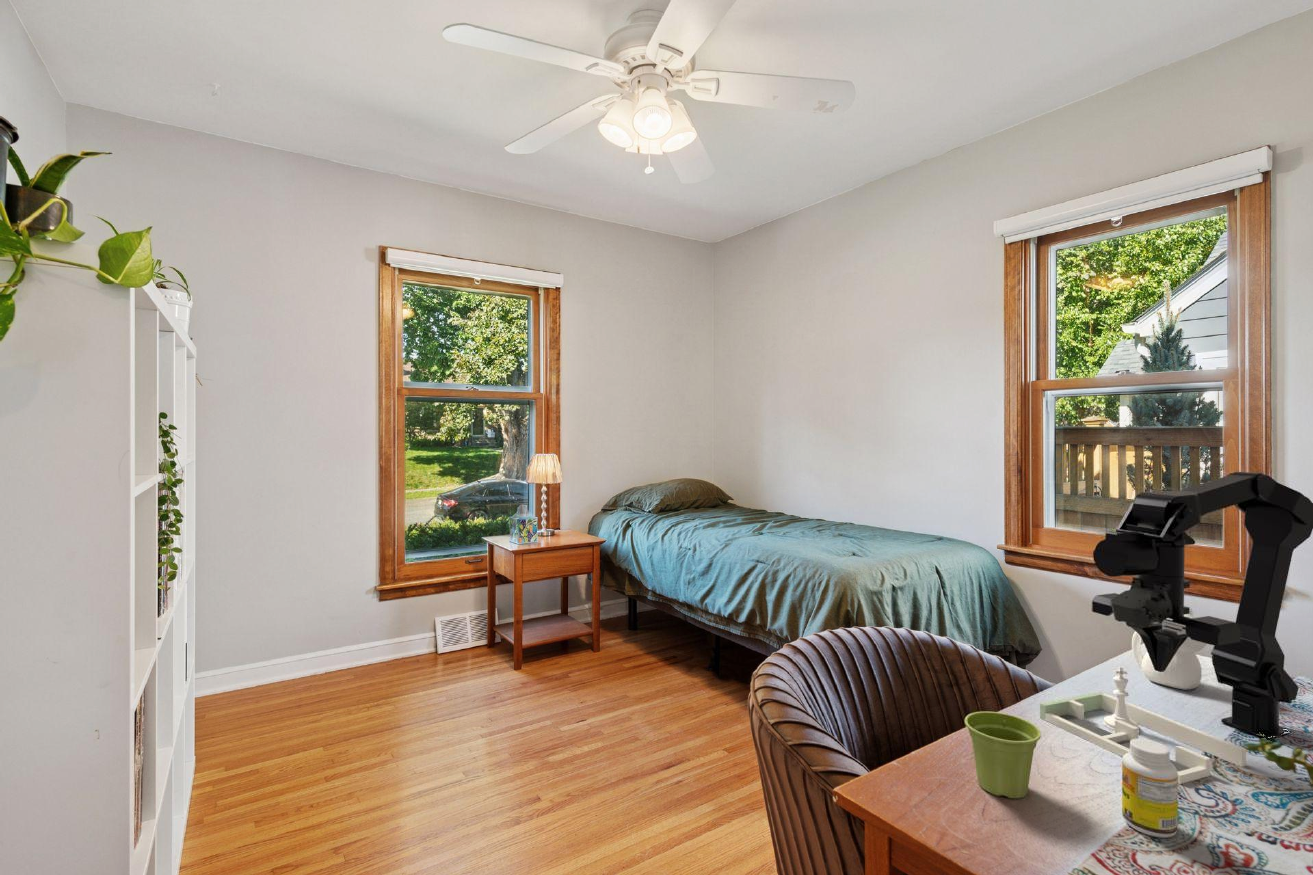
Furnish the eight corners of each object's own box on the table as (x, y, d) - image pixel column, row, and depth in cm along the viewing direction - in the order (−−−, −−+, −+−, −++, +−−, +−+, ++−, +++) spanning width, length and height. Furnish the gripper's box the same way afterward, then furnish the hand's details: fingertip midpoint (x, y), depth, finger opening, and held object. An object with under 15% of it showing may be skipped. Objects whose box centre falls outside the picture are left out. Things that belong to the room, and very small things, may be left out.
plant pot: (949, 777, 92) (949, 717, 92) (996, 763, 96) (996, 706, 96) (1008, 813, 84) (1008, 747, 84) (1056, 796, 88) (1057, 733, 87)
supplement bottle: (1123, 807, 85) (1124, 730, 85) (1177, 824, 81) (1178, 744, 81) (1119, 827, 81) (1120, 746, 81) (1176, 846, 77) (1177, 761, 77)
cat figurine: (1193, 698, 119) (1195, 618, 118) (1118, 674, 130) (1120, 601, 129) (1216, 689, 123) (1218, 611, 123) (1141, 666, 134) (1143, 595, 134)
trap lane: (1099, 705, 116) (1100, 691, 116) (1246, 765, 95) (1246, 748, 95) (1040, 717, 111) (1040, 703, 111) (1180, 784, 90) (1180, 766, 90)
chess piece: (1145, 734, 105) (1145, 673, 105) (1111, 731, 106) (1110, 671, 106) (1130, 720, 110) (1130, 662, 110) (1097, 718, 111) (1097, 660, 111)
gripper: (1068, 564, 108) (1067, 657, 108) (1193, 591, 90) (1191, 701, 91) (1115, 560, 112) (1114, 649, 112) (1243, 585, 94) (1242, 691, 94)
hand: (1159, 671), depth 102 cm, fingers closed
